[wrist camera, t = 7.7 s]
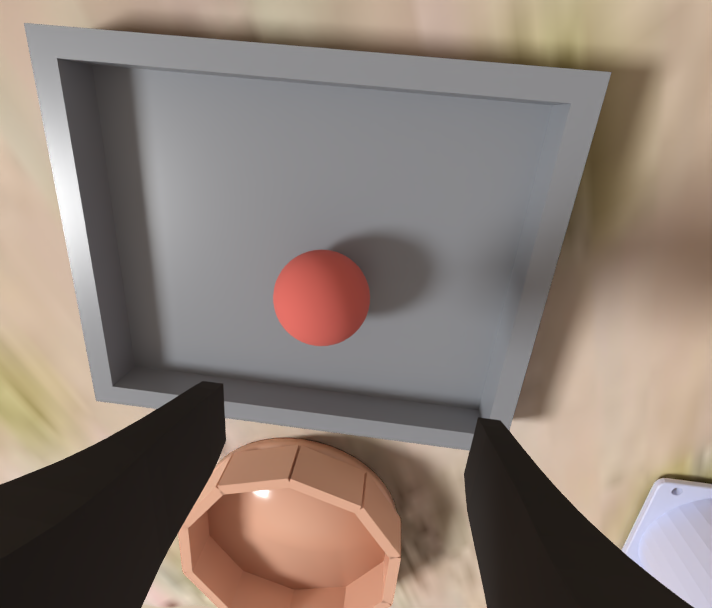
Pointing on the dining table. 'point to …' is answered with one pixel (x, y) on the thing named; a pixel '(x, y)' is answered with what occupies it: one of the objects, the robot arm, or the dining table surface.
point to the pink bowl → (293, 530)
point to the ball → (321, 297)
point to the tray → (311, 220)
